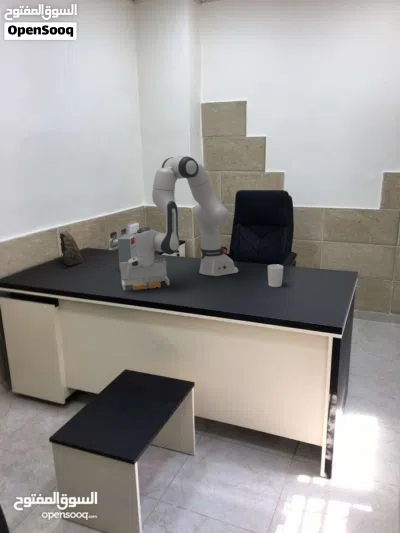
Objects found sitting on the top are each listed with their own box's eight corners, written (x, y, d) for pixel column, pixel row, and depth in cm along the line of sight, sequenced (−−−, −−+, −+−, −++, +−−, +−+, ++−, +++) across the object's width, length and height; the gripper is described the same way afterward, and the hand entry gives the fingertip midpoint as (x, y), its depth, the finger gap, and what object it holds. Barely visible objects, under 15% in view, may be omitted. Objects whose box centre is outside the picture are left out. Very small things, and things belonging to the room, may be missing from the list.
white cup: (273, 288, 211) (274, 269, 209) (264, 284, 218) (264, 265, 215) (285, 285, 215) (286, 267, 212) (276, 281, 222) (276, 263, 219)
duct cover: (166, 275, 226) (165, 274, 228) (165, 258, 225) (164, 258, 226) (121, 279, 220) (121, 279, 222) (120, 262, 219) (119, 262, 220)
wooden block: (159, 286, 221) (159, 281, 220) (160, 287, 218) (160, 283, 217) (133, 288, 217) (132, 284, 217) (133, 290, 215) (133, 286, 214)
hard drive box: (131, 272, 245) (129, 239, 240) (119, 271, 247) (116, 238, 241) (140, 265, 260) (138, 233, 254) (129, 264, 261) (126, 233, 256)
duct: (166, 280, 228) (166, 275, 227) (169, 285, 220) (169, 279, 219) (121, 285, 222) (121, 280, 221) (123, 290, 214) (123, 284, 213)
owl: (67, 266, 262) (63, 234, 256) (55, 263, 270) (52, 232, 264) (84, 261, 271) (80, 231, 266) (72, 259, 279) (69, 229, 274)
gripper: (164, 256, 217) (166, 282, 220) (125, 260, 211) (127, 286, 215) (167, 259, 211) (168, 285, 215) (126, 263, 206) (128, 290, 209)
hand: (147, 286), depth 215 cm, fingers closed
